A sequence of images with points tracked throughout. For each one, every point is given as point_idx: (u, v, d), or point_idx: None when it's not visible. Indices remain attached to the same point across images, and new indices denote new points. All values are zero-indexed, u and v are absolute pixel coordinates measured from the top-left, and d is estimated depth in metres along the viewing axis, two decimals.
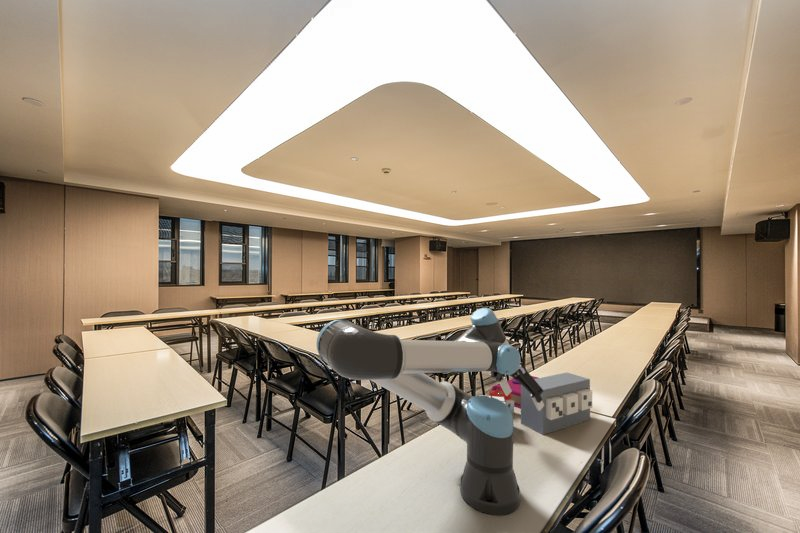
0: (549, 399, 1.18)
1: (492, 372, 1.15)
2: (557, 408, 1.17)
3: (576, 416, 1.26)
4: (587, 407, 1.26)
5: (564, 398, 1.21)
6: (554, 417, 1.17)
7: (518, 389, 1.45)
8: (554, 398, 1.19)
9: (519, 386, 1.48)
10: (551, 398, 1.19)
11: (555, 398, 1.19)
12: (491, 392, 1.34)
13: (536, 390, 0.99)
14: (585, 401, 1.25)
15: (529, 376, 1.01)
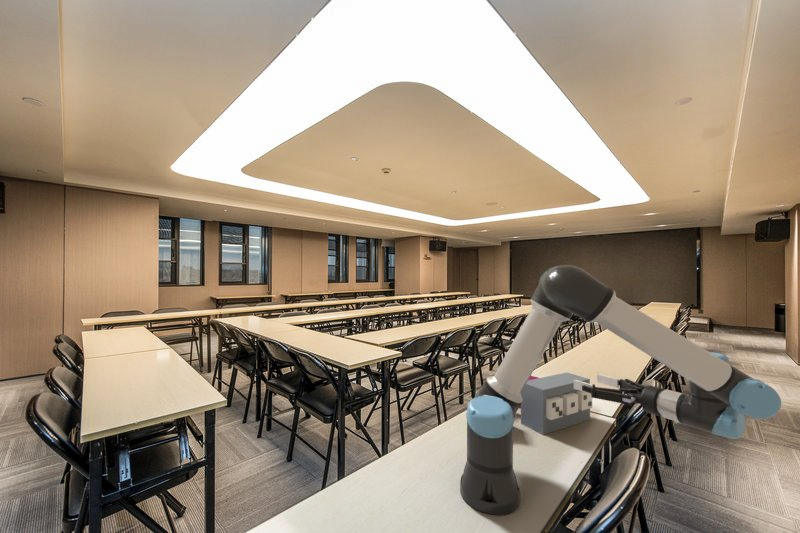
0: (549, 399, 1.18)
1: (633, 382, 1.03)
2: (557, 408, 1.17)
3: (576, 416, 1.26)
4: (587, 407, 1.26)
5: (564, 398, 1.21)
6: (554, 417, 1.17)
7: None
8: (554, 398, 1.19)
9: None
10: (551, 398, 1.19)
11: (555, 398, 1.19)
12: None
13: (598, 392, 0.95)
14: (585, 401, 1.25)
15: (615, 400, 0.93)
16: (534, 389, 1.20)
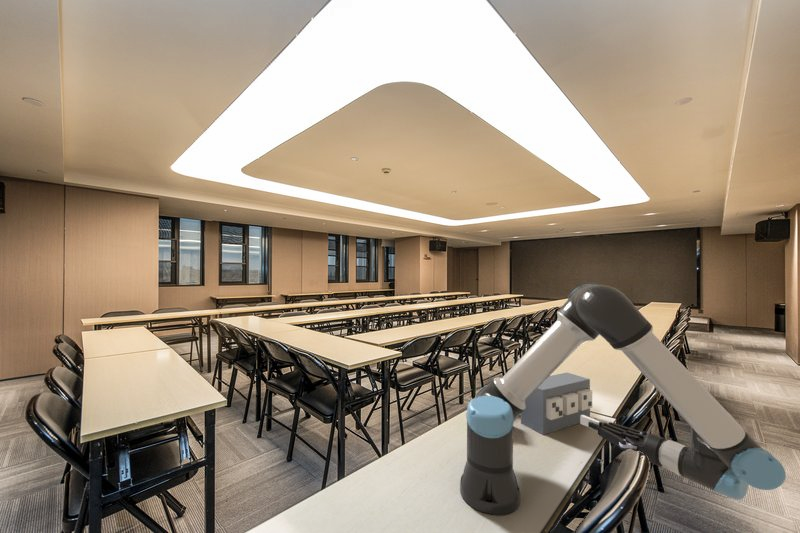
0: (549, 399, 1.18)
1: (621, 426, 1.02)
2: (557, 408, 1.17)
3: (576, 416, 1.26)
4: (587, 407, 1.26)
5: (564, 398, 1.21)
6: (554, 417, 1.17)
7: None
8: (554, 398, 1.19)
9: None
10: (551, 398, 1.19)
11: (555, 398, 1.19)
12: None
13: (601, 431, 1.00)
14: (585, 401, 1.25)
15: (613, 442, 0.95)
16: None
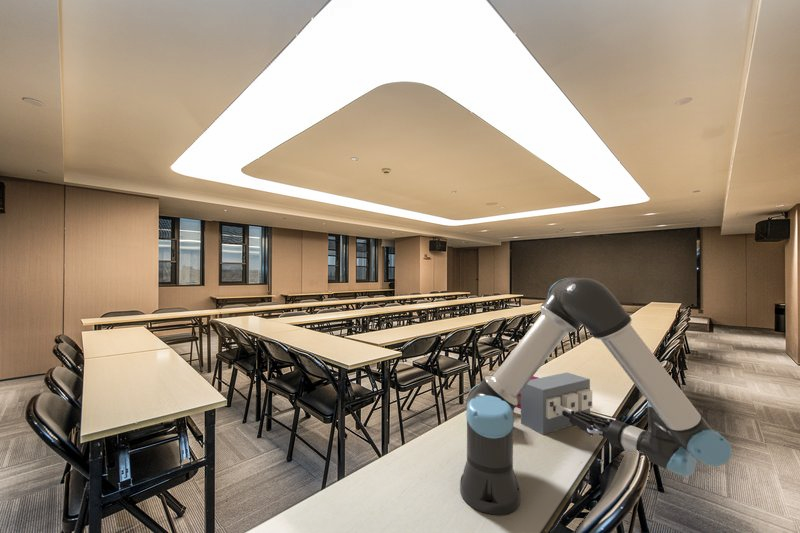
0: (547, 398, 1.19)
1: (591, 414, 1.10)
2: (555, 407, 1.18)
3: None
4: (587, 407, 1.26)
5: (564, 398, 1.21)
6: (552, 416, 1.17)
7: None
8: (551, 397, 1.20)
9: None
10: None
11: (553, 397, 1.20)
12: None
13: (572, 418, 1.08)
14: (585, 401, 1.25)
15: (582, 428, 1.04)
16: (534, 389, 1.20)
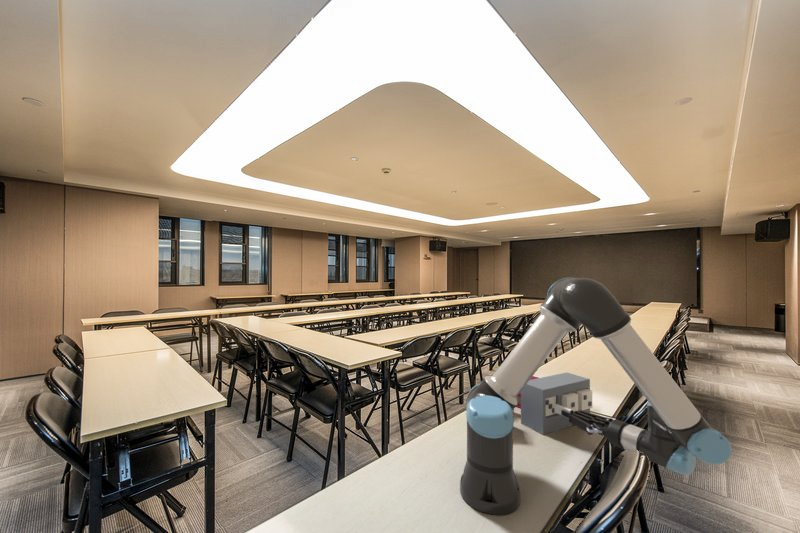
0: None
1: (590, 413, 1.10)
2: (550, 405, 1.20)
3: None
4: (587, 407, 1.26)
5: (564, 398, 1.21)
6: (547, 414, 1.19)
7: None
8: None
9: None
10: None
11: None
12: None
13: (572, 418, 1.08)
14: (585, 401, 1.25)
15: (582, 427, 1.04)
16: (534, 389, 1.20)
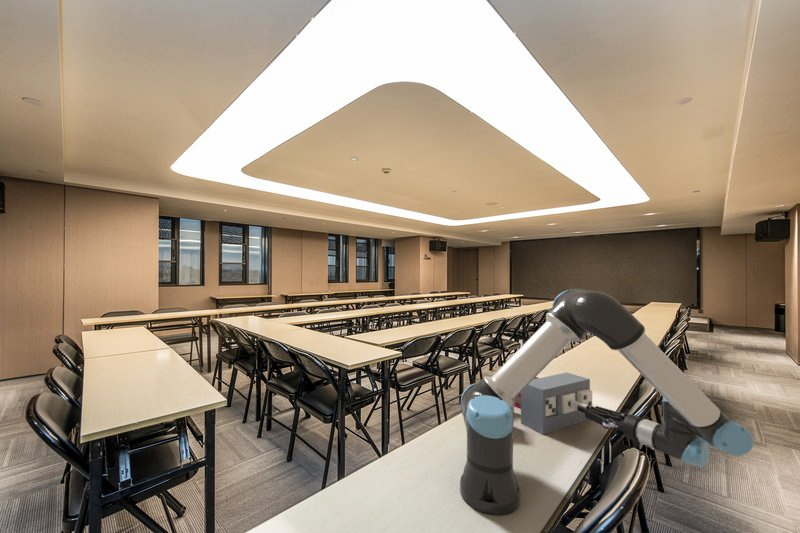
0: None
1: (605, 409, 1.15)
2: (550, 405, 1.20)
3: (576, 416, 1.26)
4: None
5: None
6: (547, 414, 1.19)
7: None
8: None
9: None
10: None
11: None
12: None
13: (588, 413, 1.13)
14: (585, 401, 1.25)
15: (598, 422, 1.09)
16: (534, 389, 1.20)
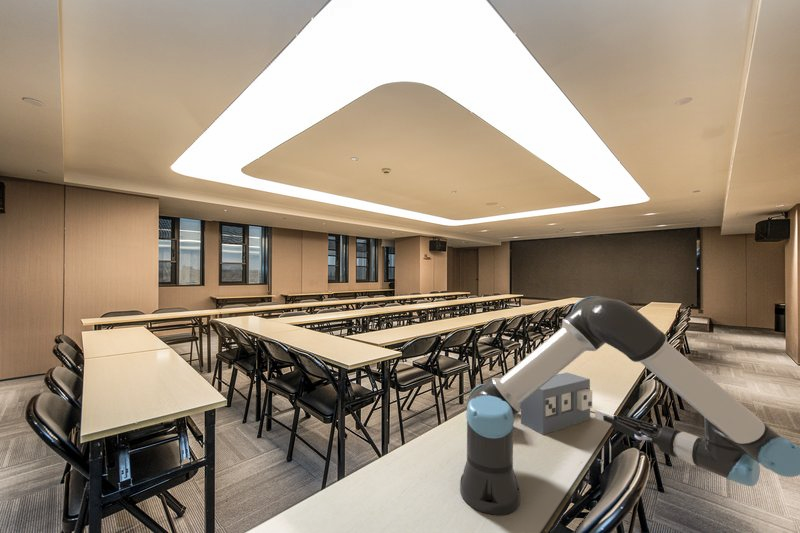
0: None
1: (635, 419, 1.06)
2: (550, 405, 1.20)
3: (576, 416, 1.26)
4: (587, 407, 1.26)
5: None
6: (547, 414, 1.19)
7: None
8: None
9: None
10: None
11: None
12: None
13: (616, 424, 1.04)
14: (585, 401, 1.25)
15: (629, 434, 1.00)
16: None
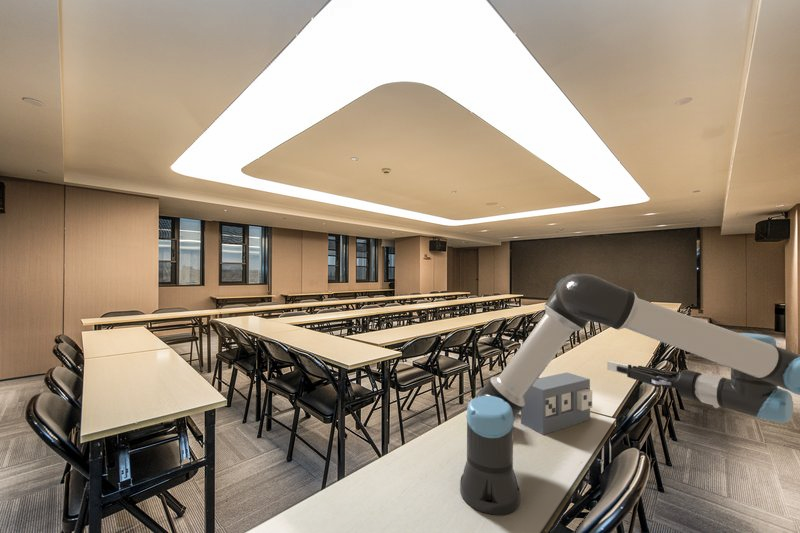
0: None
1: (651, 368, 0.99)
2: (550, 405, 1.20)
3: (576, 416, 1.26)
4: (587, 407, 1.26)
5: None
6: (547, 414, 1.19)
7: None
8: None
9: None
10: None
11: None
12: None
13: (631, 372, 0.97)
14: (585, 401, 1.25)
15: (645, 380, 0.93)
16: (534, 389, 1.20)
